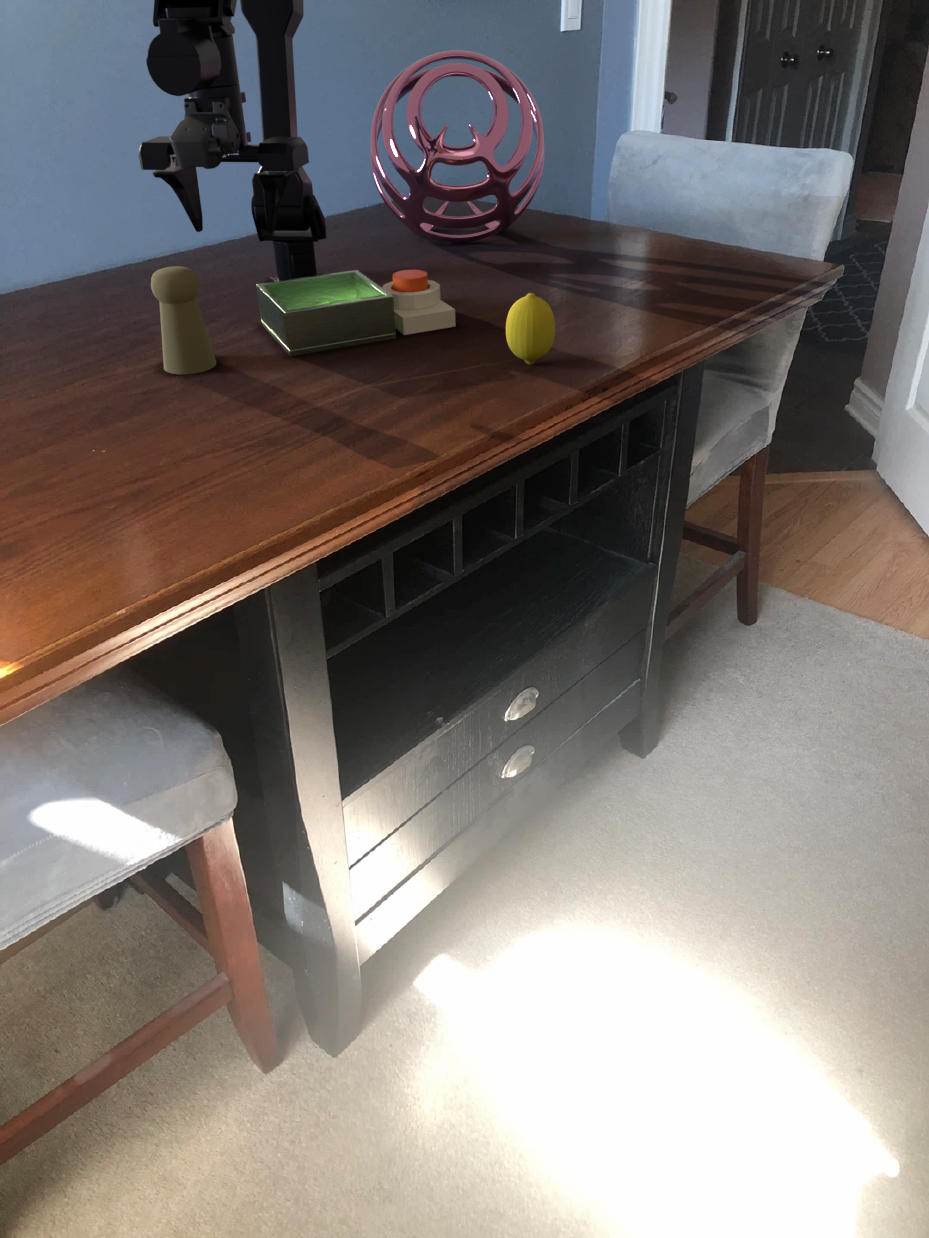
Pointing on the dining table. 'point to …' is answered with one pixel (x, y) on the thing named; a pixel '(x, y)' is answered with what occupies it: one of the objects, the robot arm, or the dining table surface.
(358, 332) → the warming box
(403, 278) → the button
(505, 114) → the pink openwork sphere
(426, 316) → the control block
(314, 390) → the dining table surface
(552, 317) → the lemon
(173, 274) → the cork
